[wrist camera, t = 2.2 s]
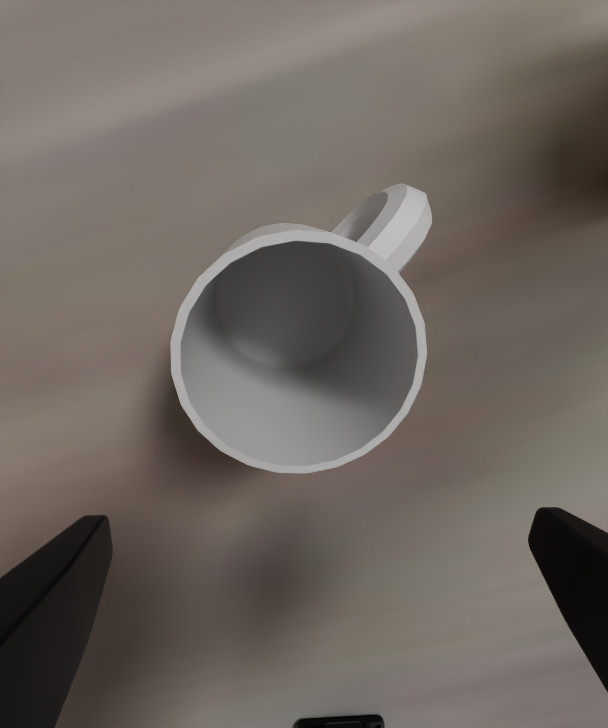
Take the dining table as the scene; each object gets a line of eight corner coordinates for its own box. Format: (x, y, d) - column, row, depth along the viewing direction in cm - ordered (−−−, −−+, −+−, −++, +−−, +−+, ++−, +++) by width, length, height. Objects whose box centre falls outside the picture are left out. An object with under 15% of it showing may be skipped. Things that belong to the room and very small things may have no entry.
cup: (178, 308, 20) (115, 378, 11) (321, 134, 18) (373, 63, 9) (291, 397, 22) (309, 512, 13) (431, 251, 20) (552, 279, 12)
